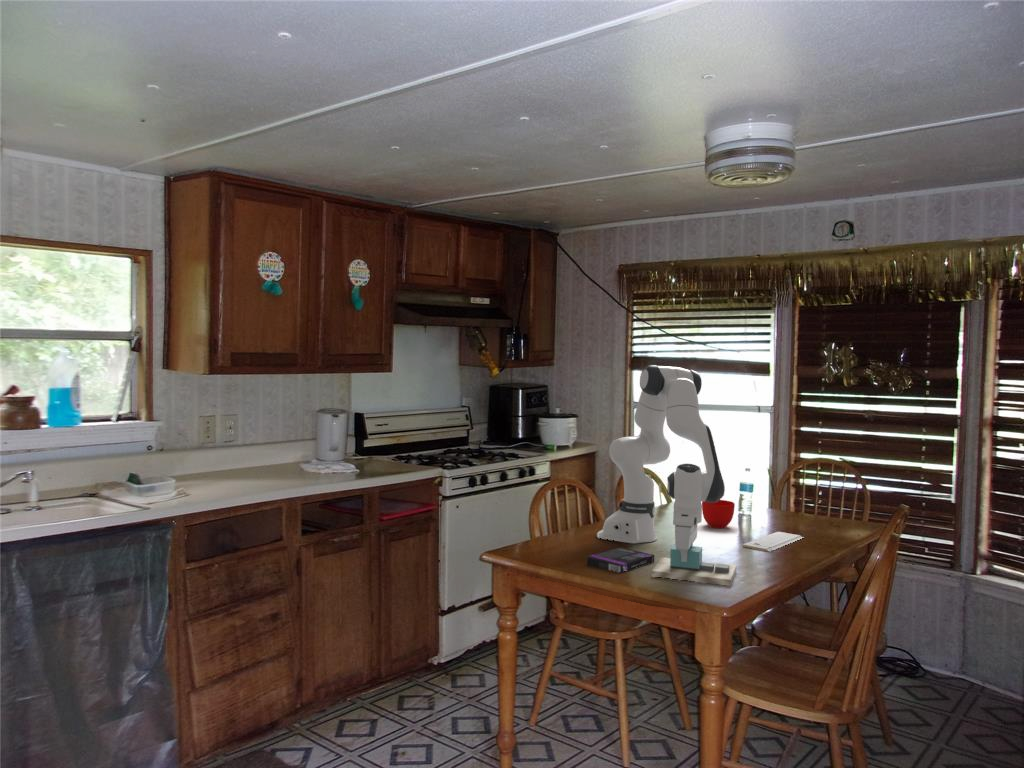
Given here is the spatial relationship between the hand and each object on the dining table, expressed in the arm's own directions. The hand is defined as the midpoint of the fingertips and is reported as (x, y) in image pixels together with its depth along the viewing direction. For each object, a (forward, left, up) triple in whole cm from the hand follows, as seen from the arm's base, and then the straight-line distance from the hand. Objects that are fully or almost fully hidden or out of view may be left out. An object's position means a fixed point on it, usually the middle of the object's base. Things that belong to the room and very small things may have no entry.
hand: (686, 558), depth 254 cm
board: (+3, 0, -5) cm, 6 cm away
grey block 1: (+6, 0, -3) cm, 7 cm away
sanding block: (0, 0, -3) cm, 3 cm away
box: (-22, +3, -6) cm, 23 cm away
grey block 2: (+11, 0, -3) cm, 12 cm away
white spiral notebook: (+25, +57, -6) cm, 62 cm away
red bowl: (+1, +78, -5) cm, 78 cm away
